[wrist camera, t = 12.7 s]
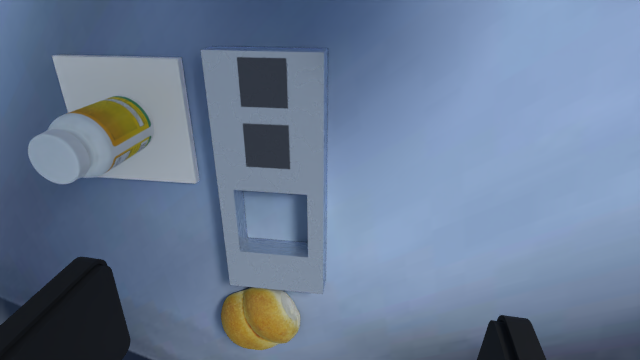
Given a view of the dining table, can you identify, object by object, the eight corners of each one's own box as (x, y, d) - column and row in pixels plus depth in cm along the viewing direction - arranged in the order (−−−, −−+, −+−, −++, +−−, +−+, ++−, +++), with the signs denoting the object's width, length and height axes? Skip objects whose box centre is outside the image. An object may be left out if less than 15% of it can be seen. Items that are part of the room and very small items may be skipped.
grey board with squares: (212, 46, 34) (200, 50, 31) (327, 48, 32) (323, 52, 30) (237, 270, 44) (229, 285, 42) (326, 278, 43) (322, 294, 41)
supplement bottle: (156, 153, 38) (91, 201, 30) (104, 141, 38) (24, 185, 30) (156, 100, 36) (84, 134, 27) (100, 87, 36) (12, 118, 28)
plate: (58, 54, 36) (51, 55, 35) (181, 57, 35) (177, 58, 34) (91, 173, 41) (86, 176, 41) (199, 180, 40) (196, 183, 39)
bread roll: (213, 296, 47) (200, 321, 43) (276, 273, 44) (267, 298, 40) (251, 344, 49) (240, 372, 46) (312, 325, 46) (306, 353, 43)
